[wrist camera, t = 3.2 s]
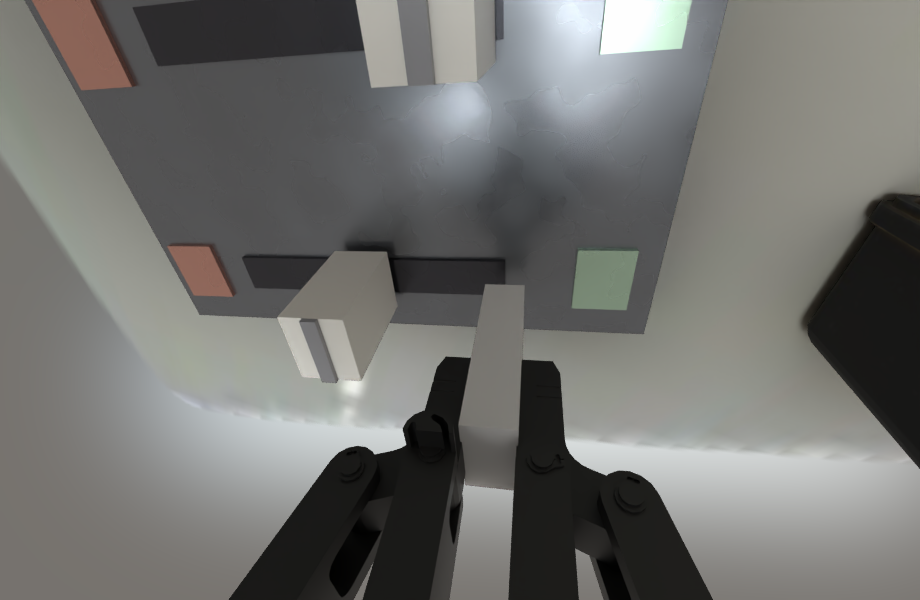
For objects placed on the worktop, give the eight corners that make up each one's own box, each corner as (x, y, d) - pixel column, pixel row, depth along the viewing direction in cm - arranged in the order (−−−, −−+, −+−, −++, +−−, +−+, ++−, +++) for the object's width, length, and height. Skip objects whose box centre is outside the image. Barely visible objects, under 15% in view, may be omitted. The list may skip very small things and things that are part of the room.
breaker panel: (50, -49, 15) (-14, -57, 13) (738, -147, 11) (776, -178, 9) (222, 295, 24) (197, 316, 22) (635, 309, 20) (644, 336, 18)
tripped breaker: (334, 251, 18) (274, 320, 14) (386, 251, 18) (340, 323, 13) (349, 304, 20) (299, 380, 16) (397, 305, 19) (359, 384, 15)
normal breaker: (408, -51, 12) (335, -92, 7) (493, -62, 11) (467, -110, 7) (421, 67, 13) (368, 89, 9) (495, 62, 13) (475, 82, 9)
